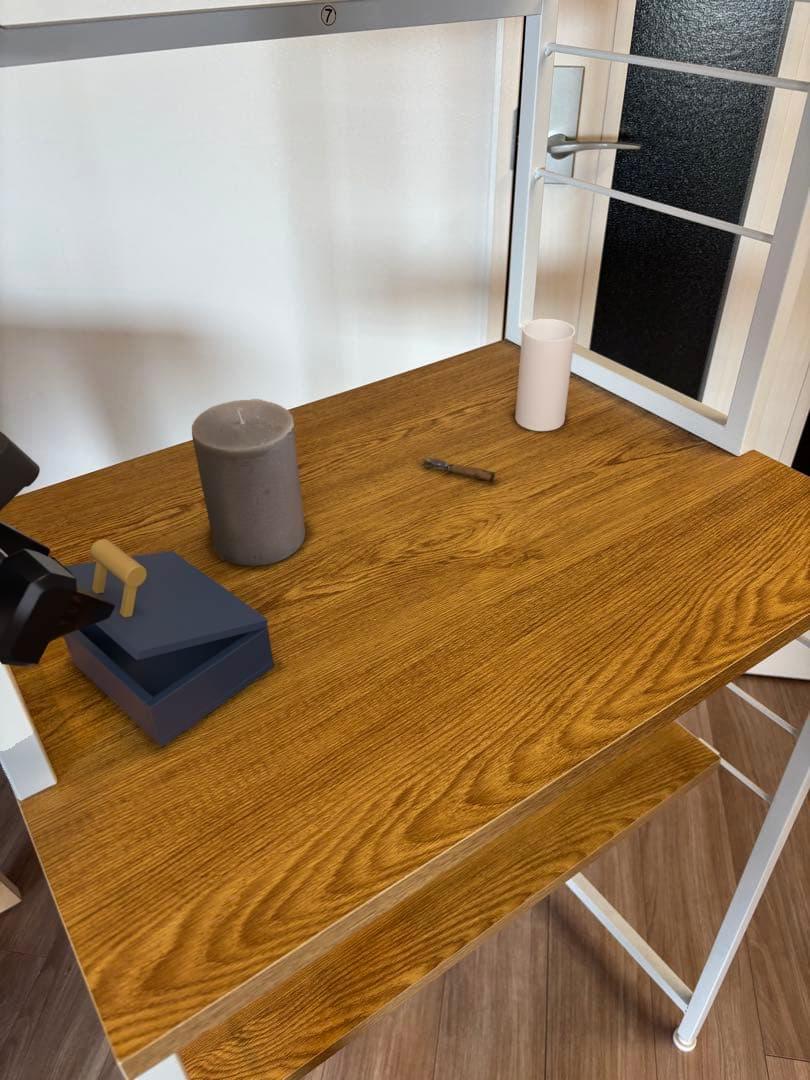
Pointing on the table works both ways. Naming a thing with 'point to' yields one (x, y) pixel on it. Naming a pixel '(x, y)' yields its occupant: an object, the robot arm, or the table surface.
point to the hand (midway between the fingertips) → (78, 581)
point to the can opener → (461, 469)
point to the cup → (544, 374)
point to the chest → (171, 677)
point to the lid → (161, 601)
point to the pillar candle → (250, 481)
